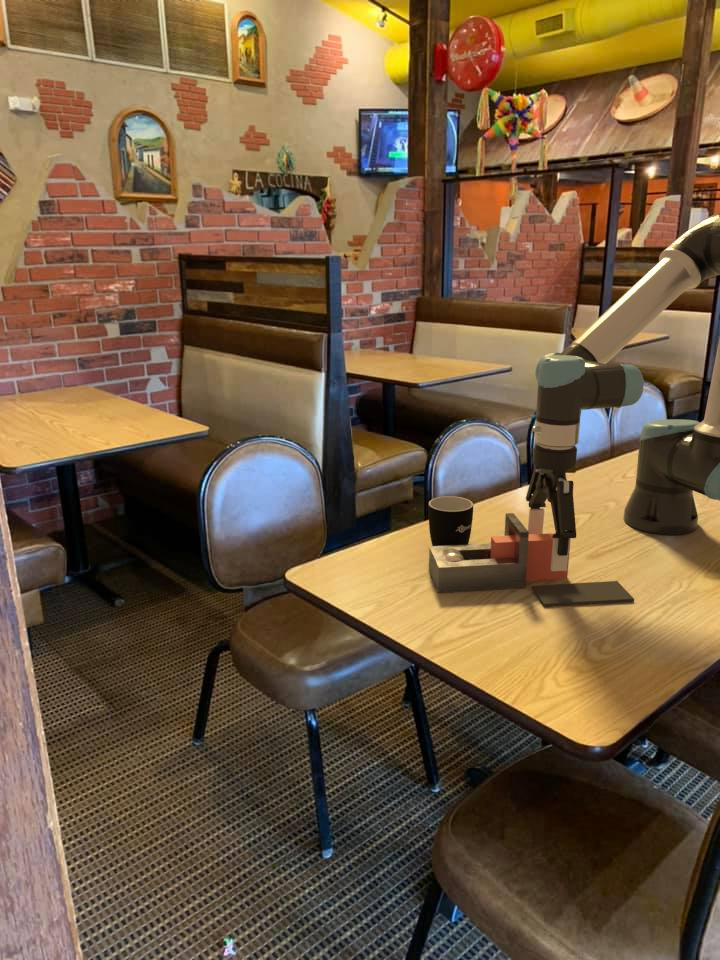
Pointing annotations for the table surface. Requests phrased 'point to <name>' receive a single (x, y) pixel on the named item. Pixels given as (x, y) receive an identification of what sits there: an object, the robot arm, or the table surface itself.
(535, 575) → the orange block
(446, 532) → the mug
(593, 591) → the pad
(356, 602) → the table surface
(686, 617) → the table surface
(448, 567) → the frame
